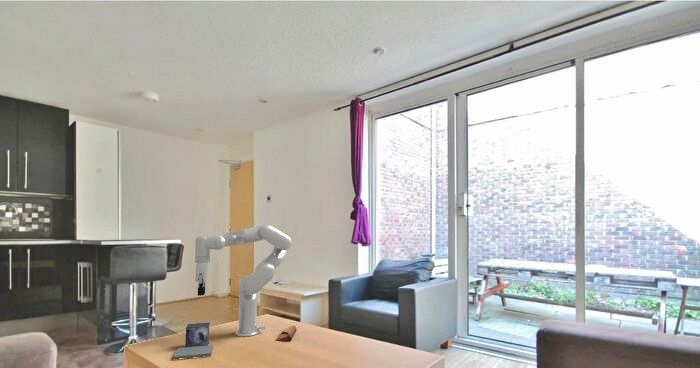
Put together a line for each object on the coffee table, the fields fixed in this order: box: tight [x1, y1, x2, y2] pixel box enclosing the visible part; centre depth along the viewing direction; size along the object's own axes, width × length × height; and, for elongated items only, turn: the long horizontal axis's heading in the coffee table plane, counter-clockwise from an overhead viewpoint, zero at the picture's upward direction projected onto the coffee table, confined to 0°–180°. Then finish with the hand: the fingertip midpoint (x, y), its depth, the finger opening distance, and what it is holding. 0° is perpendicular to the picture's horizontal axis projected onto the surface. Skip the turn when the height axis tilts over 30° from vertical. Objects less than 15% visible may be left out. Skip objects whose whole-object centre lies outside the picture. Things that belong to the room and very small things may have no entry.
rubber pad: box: [172, 344, 214, 360], centre depth 174 cm, size 16×12×2 cm
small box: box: [184, 322, 210, 347], centre depth 186 cm, size 11×6×10 cm, turn 105°
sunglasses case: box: [275, 325, 297, 343], centre depth 200 cm, size 18×7×7 cm, turn 0°
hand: (201, 294), depth 198 cm, fingers open, 3 cm apart
